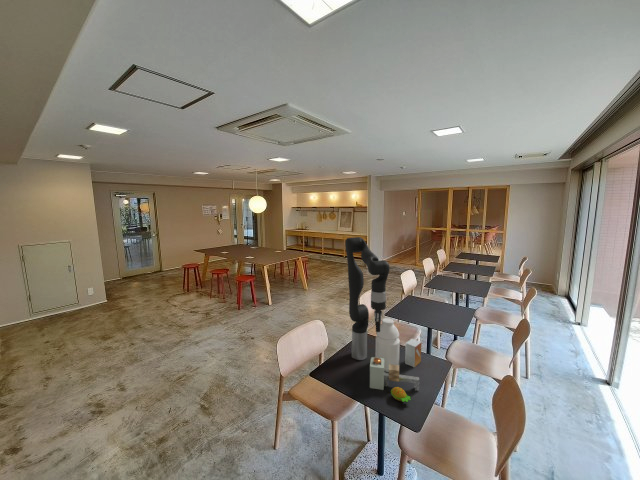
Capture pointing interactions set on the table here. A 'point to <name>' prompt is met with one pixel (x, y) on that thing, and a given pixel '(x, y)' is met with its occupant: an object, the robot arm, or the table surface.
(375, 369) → the cabinet
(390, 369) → the block
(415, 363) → the small box
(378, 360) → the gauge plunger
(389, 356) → the bottle
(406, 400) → the toy pineapple
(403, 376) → the rail
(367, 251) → the robot arm
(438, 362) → the table surface
